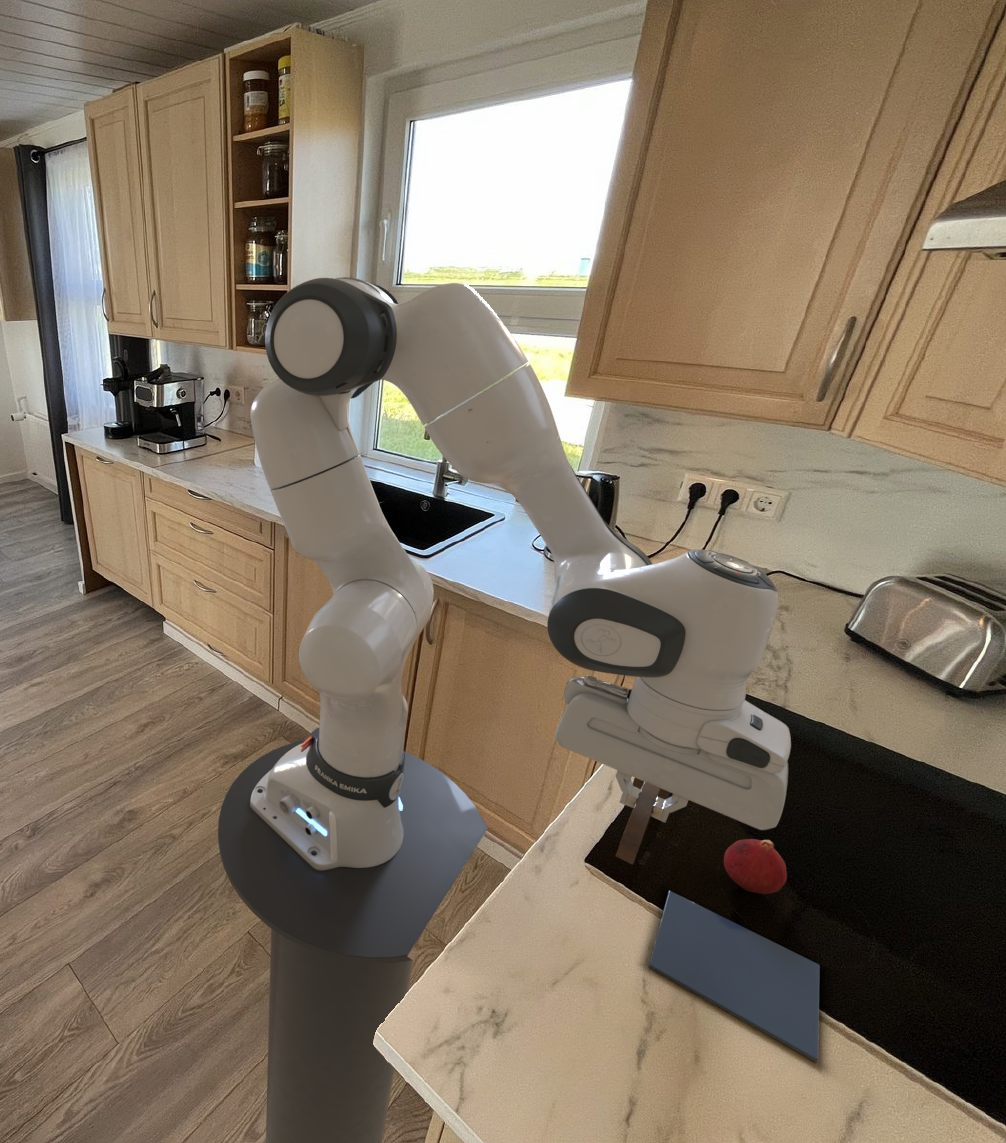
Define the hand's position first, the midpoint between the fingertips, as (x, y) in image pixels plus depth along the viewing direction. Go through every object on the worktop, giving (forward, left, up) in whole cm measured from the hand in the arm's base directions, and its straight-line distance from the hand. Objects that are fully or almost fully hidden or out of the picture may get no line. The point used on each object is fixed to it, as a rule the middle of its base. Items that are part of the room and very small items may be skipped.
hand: (643, 809), depth 68 cm
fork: (0, +4, -2) cm, 4 cm away
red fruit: (+12, +13, -15) cm, 23 cm away
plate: (+12, 0, -15) cm, 19 cm away
